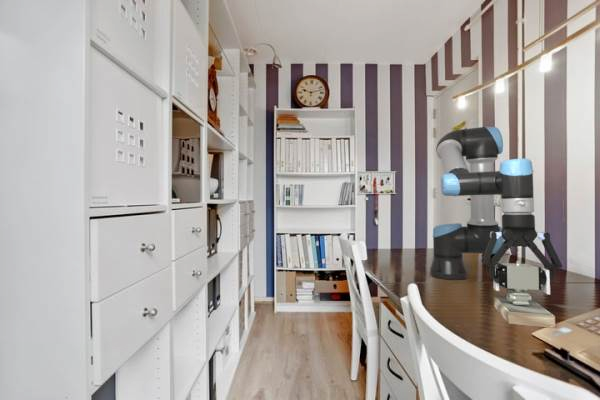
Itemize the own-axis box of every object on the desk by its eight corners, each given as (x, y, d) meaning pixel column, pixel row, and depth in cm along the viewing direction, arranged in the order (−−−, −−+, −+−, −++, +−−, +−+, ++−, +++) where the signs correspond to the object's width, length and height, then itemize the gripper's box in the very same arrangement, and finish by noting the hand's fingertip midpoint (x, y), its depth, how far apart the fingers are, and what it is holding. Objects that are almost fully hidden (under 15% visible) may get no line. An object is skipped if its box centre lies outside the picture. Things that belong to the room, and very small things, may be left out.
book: (494, 306, 91) (493, 296, 91) (533, 310, 88) (532, 298, 88) (508, 323, 78) (508, 311, 78) (555, 328, 75) (554, 315, 75)
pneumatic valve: (547, 307, 80) (547, 263, 80) (499, 305, 82) (498, 261, 82) (535, 301, 85) (535, 259, 85) (490, 298, 87) (490, 258, 88)
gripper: (473, 214, 84) (475, 291, 84) (576, 213, 76) (580, 298, 76) (468, 213, 91) (470, 285, 91) (562, 212, 83) (566, 291, 83)
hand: (520, 291), depth 83 cm, fingers closed on pneumatic valve, 11 cm apart
